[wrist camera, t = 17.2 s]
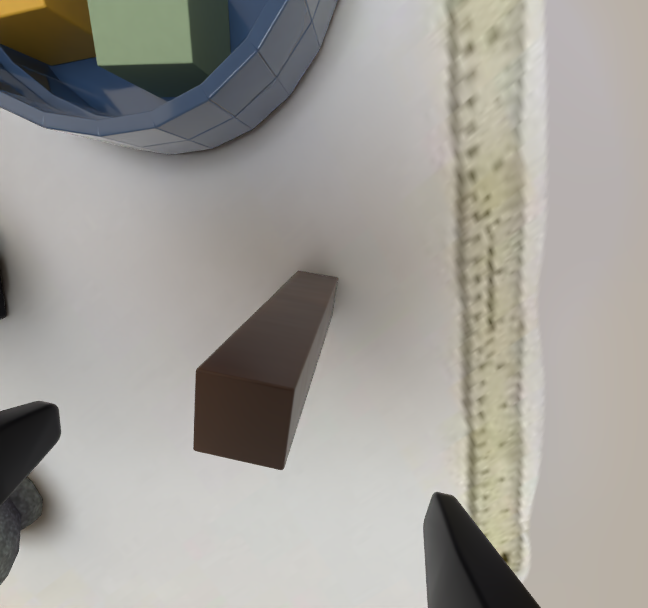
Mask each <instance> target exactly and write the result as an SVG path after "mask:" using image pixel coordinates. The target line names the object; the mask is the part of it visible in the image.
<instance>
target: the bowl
mask: <svg viewBox="0 0 648 608" xmlns="http://www.w3.org/2000/svg"><path fill="white" fill-rule="evenodd" d="M337 1H338V0H228V11H229V30H230V48H231V54H230V55H229V56H228V57H227V58H226V59H225V60H224V61H223V62H222V63H221V64H220V65H219V66H218V67H217V68H216V69H215V70H214V71H213V72H212V73H211V74H210V75H209V76H208V77H207V78H206V79H205V80H204V81H203V82H202V83H201V84H200V85H198V86H196V87H194V88H193V89H191V90H189V91H187V92H185V93H183V94H181V95H179V96H178V97H157V96H155V95H154V94H152V93H150V92H148V91H146V90H144V89H142V88H140V87H138V86H136V85H134V84H132V83H130V82H128V81H126V80H124V79H123V78H121V77H119V76H117V75H115V74H113V73H111V72H109V71H107V70H105V69H103V68H101V67H99V66H98V65H97V60H96V57H92V58H87V59H82V60H77V61H72V62H67V63H62V64H58V65H53V66H51V65H48V64H46V63H43V62H41V61H39V60H37V59H34V58H32V57H30V56H28V55H25V54H23V53H21V52H18V51H16V50H14V49H12V48H9V47H7V46H5V45H3V44H0V107H1V108H3V109H5V110H7V111H9V112H11V113H14V114H16V115H18V116H20V117H22V118H24V119H26V120H29V121H31V122H33V123H35V124H37V125H39V126H41V127H44V128H47V129H51V130H55V131H59V132H64V133H68V134H72V135H76V136H80V137H85V138H89V139H93V140H97V141H102V142H106V143H110V144H114V145H118V146H123V147H127V148H132V149H138V150H144V151H150V152H156V153H163V154H171V155H172V154H179V153H186V152H193V151H200V150H207V149H212V148H215V147H217V146H219V145H221V144H223V143H225V142H227V141H229V140H232V139H234V138H236V137H238V136H240V135H242V134H244V133H246V132H248V131H250V130H252V128H253V129H254V128H255V127H256V126H257V125H258V124H259V123H260V122H261V121H262V120H264V119H265V118H266V117H267V116H268V115H269V114H270V113H271V112H272V111H274V110H275V109H276V108H277V107H278V106H279V105H280V104H281V103H282V102H283V101H285V100H286V99H287V98H288V97H289V95H291V93H292V92H293V90H294V88H295V87H296V85H297V84H298V82H299V81H300V79H301V78H302V76H303V75H304V73H305V72H306V70H307V68H308V67H309V65H310V64H311V62H312V61H313V59H314V58H315V56H316V55H317V53H318V52H319V50H320V47H321V45H322V42H323V40H324V37H325V34H326V31H327V29H328V26H329V23H330V20H331V18H332V15H333V12H334V9H335V7H336V4H337Z"/></svg>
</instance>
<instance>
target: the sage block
mask: <svg viewBox="0 0 648 608" xmlns="http://www.w3.org/2000/svg"><path fill="white" fill-rule="evenodd" d="M87 2H88V9H89V15H90V21H91V28H92V34H93V40H94V47H95V53H96V60H97V65H98V66H99V67H101V68H103V69H105V70H107V71H109V72H111V73H113V74H115V75H117V76H119V77H121V78H123V79H124V80H126V81H128V82H130V83H132V84H134V85H136V86H138V87H140V88H142V89H144V90H146V91H148V92H150V93H152V94H154V95H155V96H157V97H178V96H179V95H181V94H183V93H185V92H187V91H189V90H191V89H193V88H194V87H196V86H198V85H200V84H201V83H202V82H203V81H204V80H205V79H206V78H207V77H208V76H209V75H210V74H211V73H212V72H213V71H214V70H215V69H216V68H217V67H218V66H219V65H220V64H221V63H222V62H223V61H224V60H225V59H226V58H227V57H228V56H229V55H230V54H231V48H230V30H229V11H228V0H87Z"/></svg>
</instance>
